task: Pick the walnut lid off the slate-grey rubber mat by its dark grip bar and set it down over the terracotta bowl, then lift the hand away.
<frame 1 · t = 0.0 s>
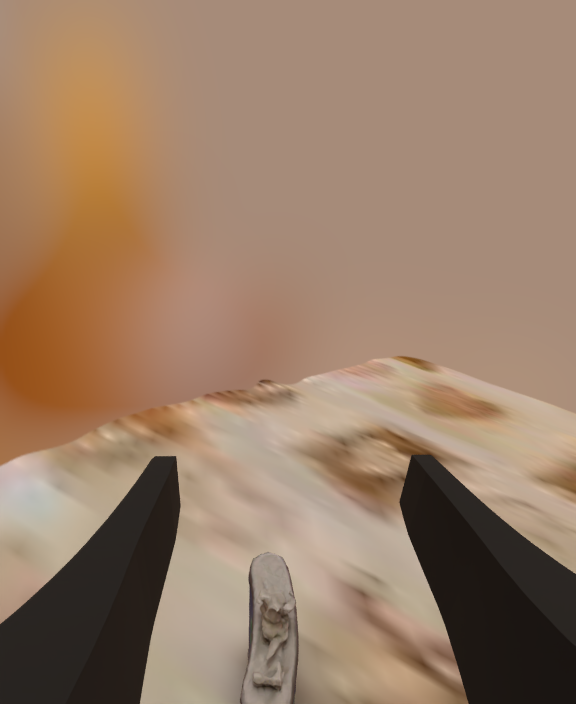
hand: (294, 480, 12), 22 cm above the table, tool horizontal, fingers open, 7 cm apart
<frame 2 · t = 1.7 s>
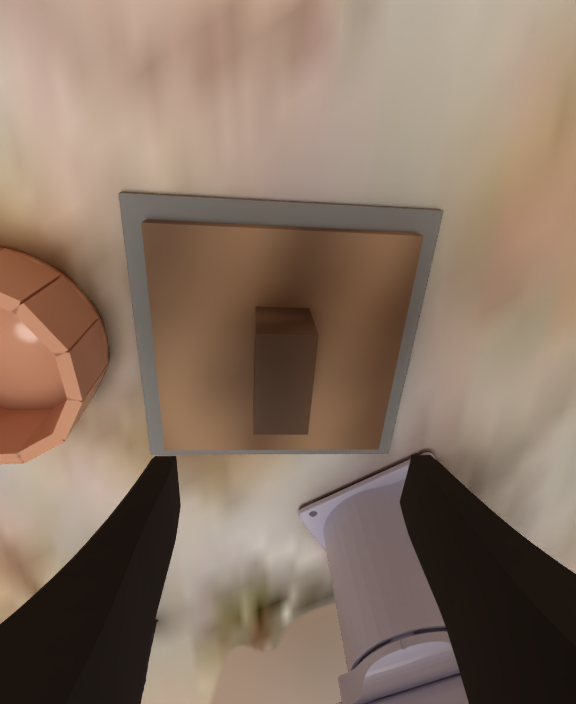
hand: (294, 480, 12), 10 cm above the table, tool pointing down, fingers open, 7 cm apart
lid: (279, 347, 20), resting on mat
mat: (278, 344, 21), on the table
bowl: (13, 337, 20), on the table
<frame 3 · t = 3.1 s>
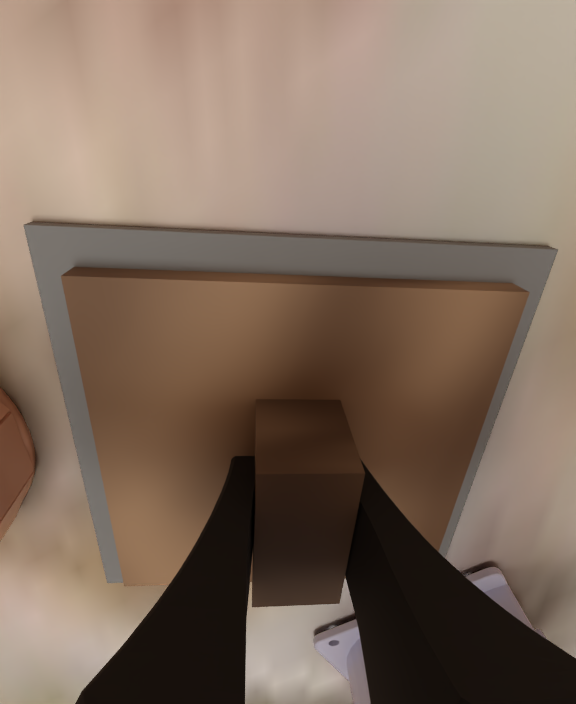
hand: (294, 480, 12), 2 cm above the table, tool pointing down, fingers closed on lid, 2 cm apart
lid: (290, 447, 14), resting on mat, touching gripper
mat: (289, 439, 14), on the table
when the fingers open (7 cm above the table, at t = 5.8 s): lid stays where it is, point 4 cm above the table.
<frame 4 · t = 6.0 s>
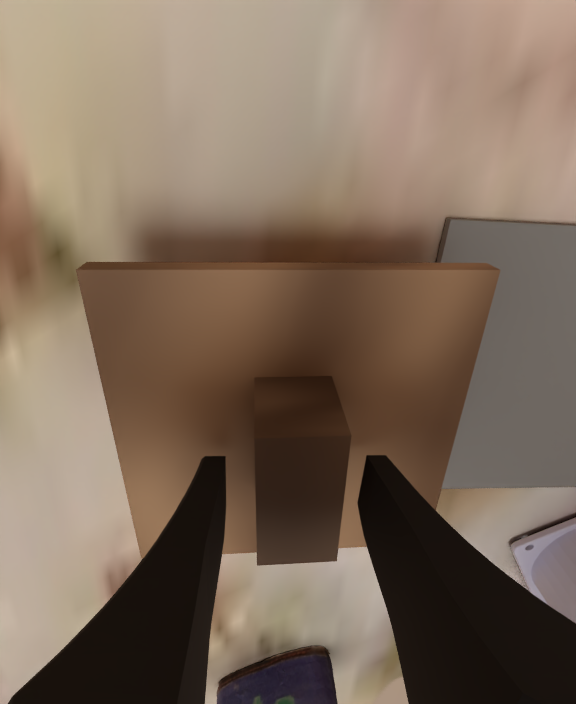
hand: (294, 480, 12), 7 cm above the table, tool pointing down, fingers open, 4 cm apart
flask: (272, 664, 30), on the table
lid: (289, 423, 15), point 4 cm above the table
mat: (549, 375, 19), on the table
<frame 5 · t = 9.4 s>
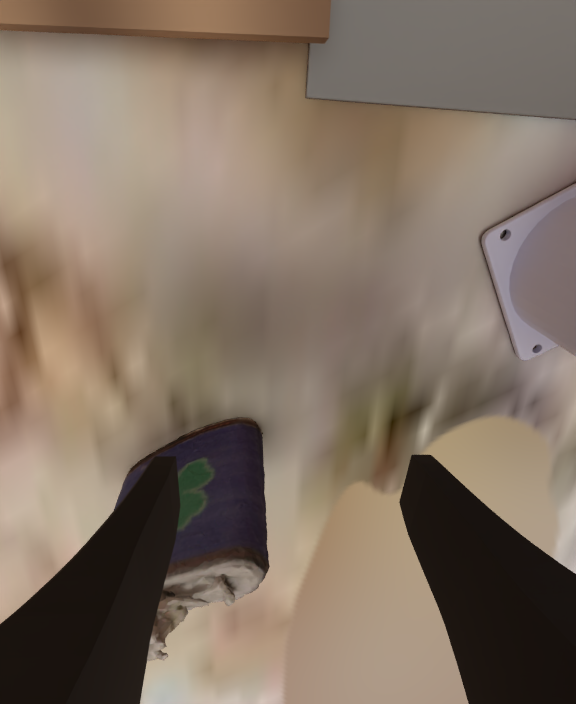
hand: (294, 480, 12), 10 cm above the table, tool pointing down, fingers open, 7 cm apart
flask: (193, 451, 24), on the table
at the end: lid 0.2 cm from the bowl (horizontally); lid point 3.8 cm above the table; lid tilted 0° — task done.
